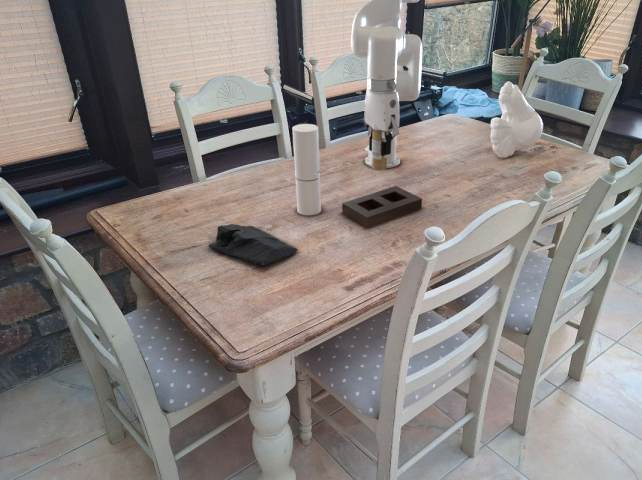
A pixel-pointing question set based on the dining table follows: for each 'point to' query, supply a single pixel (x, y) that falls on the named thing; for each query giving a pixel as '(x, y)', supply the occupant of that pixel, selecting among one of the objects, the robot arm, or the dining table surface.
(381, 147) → the robot arm
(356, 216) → the peg block
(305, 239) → the dining table surface
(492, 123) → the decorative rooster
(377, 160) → the sprinkles bottle
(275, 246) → the folded black cloth
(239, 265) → the dining table surface
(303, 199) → the cylindrical container
